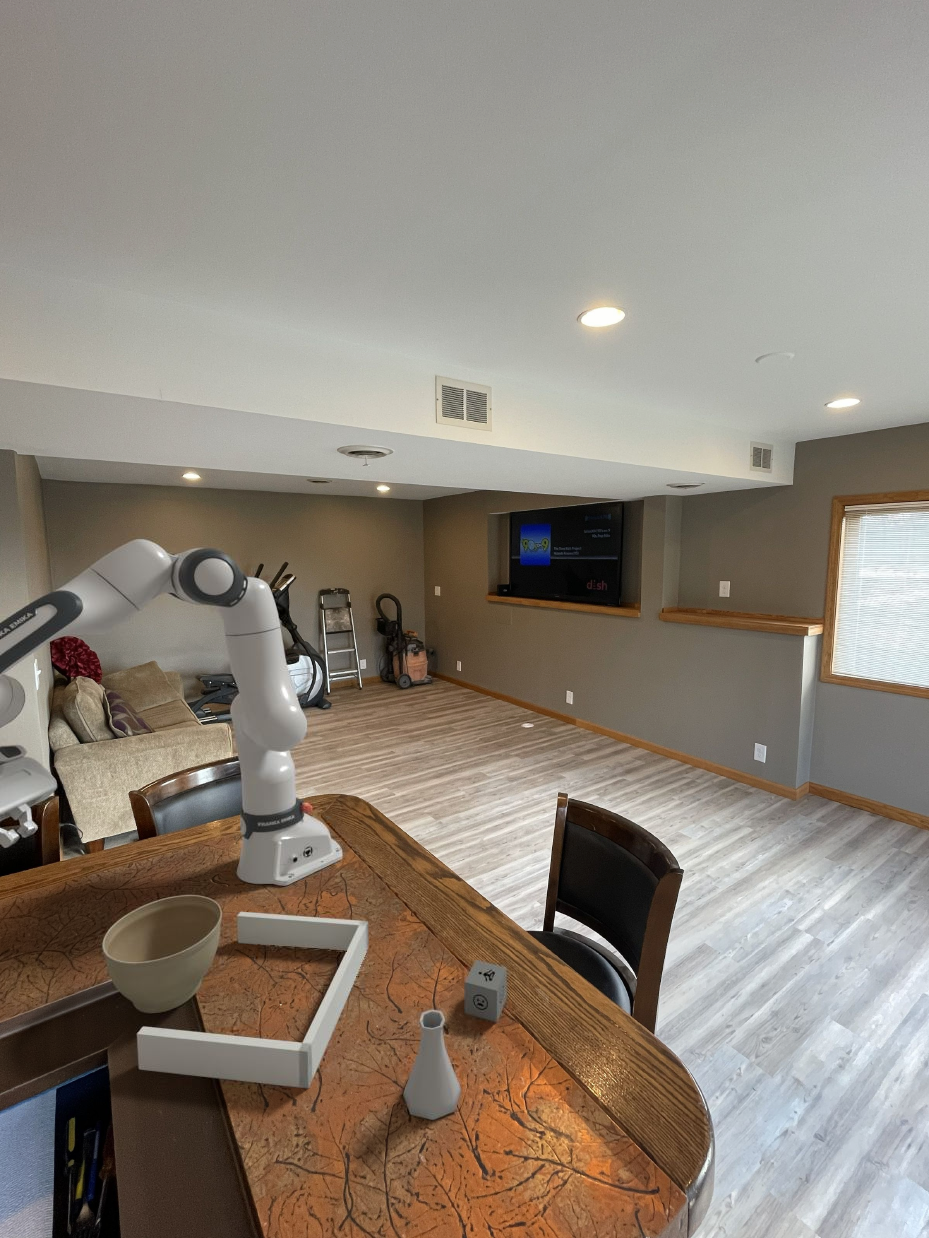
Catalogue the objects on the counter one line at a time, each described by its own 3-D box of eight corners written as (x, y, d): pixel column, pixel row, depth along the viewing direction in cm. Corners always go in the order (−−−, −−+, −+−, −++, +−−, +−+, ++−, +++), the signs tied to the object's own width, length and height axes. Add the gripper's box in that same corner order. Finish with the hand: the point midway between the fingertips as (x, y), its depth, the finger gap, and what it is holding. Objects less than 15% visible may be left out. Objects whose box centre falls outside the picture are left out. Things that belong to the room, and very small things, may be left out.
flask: (403, 1070, 73) (403, 998, 73) (459, 1066, 74) (458, 995, 73) (402, 1124, 66) (401, 1045, 65) (463, 1119, 67) (463, 1041, 66)
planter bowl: (92, 993, 87) (88, 926, 86) (199, 942, 98) (197, 883, 98) (126, 1054, 76) (122, 978, 75) (242, 989, 88) (239, 923, 87)
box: (138, 1069, 73) (136, 1033, 73) (241, 938, 100) (240, 911, 99) (308, 1088, 71) (307, 1051, 70) (368, 948, 97) (368, 921, 96)
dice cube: (497, 1022, 81) (497, 990, 81) (464, 1013, 83) (464, 981, 82) (506, 998, 86) (506, 967, 85) (475, 989, 88) (475, 959, 87)
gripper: (-101, 787, 77) (-32, 859, 77) (30, 742, 98) (85, 799, 97) (-126, 816, 78) (-58, 887, 78) (9, 766, 99) (63, 822, 98)
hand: (22, 838), depth 88 cm, fingers closed
